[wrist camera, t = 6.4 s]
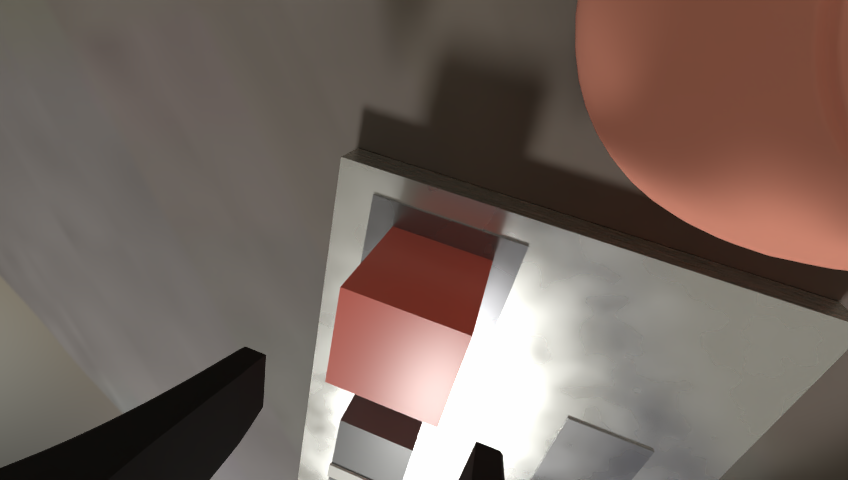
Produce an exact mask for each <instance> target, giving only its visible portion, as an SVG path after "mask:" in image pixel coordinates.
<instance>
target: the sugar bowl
mask: <svg viewBox="0 0 848 480" xmlns="http://www.w3.org/2000/svg"><path fill="white" fill-rule="evenodd" d="M575 52H576V60H577V69H578V78H579V83H580V87H581V90H582V94H583V98H584V102H585V106H586V109H587V111H588V114H589V116H590V119H591V121H592V123H593V126H594V128H595V131H596V133H597V134H598V136H599V138H600V139H601V141H602V143H603V144H604V146H605V148H606V149H607V151H608V153H609V154H610V156H611V157H612V159H613V160H614V161H615V162H616V164H617V165H618V166H619V167H620V168H621V170H622V171H623V172H624V173H625V174H626V176H627V177H628V178H629V179H630V181H631V182H632V183H633V184H635V185H636V186H637V187H638V188H639V189H640V190H641V191H642V192H643V193H645V194H646V195H647V196H648V197H649V198H650V199H651V200H652V201H654V202H655V203H657V204H658V205H660V206H661V207H663V208H664V209H666V210H667V211H669V212H670V213H672V214H673V215H675V216H676V217H678V218H680V219H681V220H683V221H685V222H687V223H688V224H690V225H692V226H694V227H697V228H699V229H701V230H703V231H705V232H707V233H709V234H711V235H713V236H715V237H717V238H720V239H722V240H725V241H727V242H730V243H733V244H735V245H738V246H741V247H744V248H747V249H750V250H753V251H756V252H759V253H762V254H765V255H768V256H772V257H777V258H781V259H786V260H791V261H795V262H800V263H805V264H810V265H815V266H820V267H825V268H830V269H837V270H846V271H848V0H578V2H577V10H576V29H575Z"/></svg>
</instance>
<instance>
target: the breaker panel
mask: <svg viewBox="0 0 848 480" xmlns="http://www.w3.org/2000/svg"><path fill="white" fill-rule="evenodd" d="M392 227H396V228H399V229H402V230H405V231H408V232H411V233H414V234H417V235H420V236H423V237H425V238H428V239H431V240H434V241H437V242H440V243H443V244H446V245H449V246H452V247H454V248H457V249H460V250H463V251H466V252H469V253H472V254H475V255H478V256H481V257H484V258H486V259H489V260H492V261H493V262H492V266H491V270H490V273H489V277H488V281H487V285H486V288H485V292H484V296H483V299H482V303H481V307H480V310H479V314H478V318H477V321H476V325H475V329H474V332H473V336H472V339H471V341H470V344H469V347H468V349H467V352H466V355H465V357H464V360H463V362H462V365H461V368H460V370H459V373H458V376H457V378H456V381H455V384H454V386H453V389H452V391H451V394H450V397H449V399H448V402H447V405H446V407H445V410H444V413H443V415H442V418H441V420H440V423H439V426H438V428H436V427H434V426H431V425H429V424H427V423H424V422H423V423H422V426H421V428H420V431H419V434H418V437H417V440H416V443H415V446H414V449H413V452H412V455H411V458H410V460H409V463H408V466H407V469H406V472H405V475H404V478H403V480H458V479H459V477H460V475H461V473H462V471H463V468H464V466H465V464H466V462H467V460H468V458H469V455H470V453H471V451H472V449H473V447H474V445H475V442H476V441H477V442H480V443H482V444H485V445H487V446H490V447H492V448H495V449H497V450H499V451H501V453H502V454H503V462H504V477H505V480H718V479H719V478H720V477H721V476H722V475H723V474H724V473H725V472H726V471H727V470H728V469H729V468H730V467H731V466H732V465H733V464H734V463H735V462H736V461H737V460H738V459H739V458H740V457H741V456H742V455H743V454H744V453H745V452H746V451H747V450H748V449H749V448H750V447H751V446H752V445H753V444H754V443H755V442H756V441H757V440H758V439H759V438H760V437H761V436H762V435H763V434H764V433H765V432H766V431H767V430H768V429H769V428H770V427H771V426H772V425H773V424H774V423H775V422H776V421H777V420H778V419H779V418H780V417H781V416H782V415H783V414H784V413H785V412H786V411H787V410H788V409H789V408H790V407H791V406H792V405H793V404H794V403H795V402H796V401H797V400H798V399H799V398H800V397H801V396H802V395H803V394H804V393H805V392H806V391H807V390H808V389H809V388H810V387H811V386H812V385H813V384H814V383H815V382H816V381H817V380H818V379H819V378H820V377H821V376H822V375H823V374H824V373H825V372H826V371H827V370H828V369H829V368H830V367H831V366H832V365H833V364H834V363H835V362H836V361H837V360H838V359H839V358H840V357H841V355H842V354H843V353H844V352H845V351H846V350H847V349H848V310H847V309H846V308H845V307H844V306H843V305H842V304H841V303H840V302H838V301H835V300H831V299H828V298H825V297H822V296H819V295H816V294H813V293H810V292H806V291H803V290H800V289H797V288H794V287H791V286H788V285H785V284H782V283H778V282H775V281H772V280H769V279H766V278H763V277H760V276H757V275H753V274H750V273H747V272H744V271H741V270H738V269H735V268H732V267H728V266H725V265H722V264H719V263H716V262H713V261H710V260H707V259H703V258H700V257H697V256H694V255H691V254H688V253H685V252H682V251H678V250H675V249H672V248H669V247H666V246H663V245H660V244H657V243H653V242H650V241H647V240H644V239H641V238H638V237H635V236H632V235H628V234H625V233H622V232H619V231H616V230H613V229H610V228H607V227H603V226H600V225H597V224H594V223H591V222H588V221H585V220H582V219H579V218H575V217H572V216H569V215H566V214H563V213H560V212H557V211H554V210H550V209H547V208H544V207H541V206H538V205H535V204H532V203H529V202H525V201H522V200H519V199H516V198H513V197H510V196H507V195H504V194H500V193H497V192H494V191H491V190H488V189H485V188H482V187H479V186H475V185H472V184H469V183H466V182H463V181H460V180H457V179H454V178H450V177H447V176H444V175H441V174H438V173H435V172H432V171H429V170H425V169H422V168H419V167H416V166H413V165H410V164H407V163H404V162H400V161H397V160H394V159H391V158H388V157H385V156H382V155H379V154H376V153H372V152H369V151H366V150H363V149H360V148H357V149H355V150H353V151H351V152H349V153H347V154H346V155H344V156H342V157H341V162H340V170H339V177H338V185H337V192H336V199H335V207H334V214H333V222H332V229H331V237H330V244H329V252H328V259H327V266H326V274H325V281H324V289H323V296H322V304H321V311H320V318H319V326H318V333H317V341H316V348H315V356H314V363H313V371H312V378H311V385H310V393H309V400H308V408H307V415H306V423H305V430H304V437H303V445H302V452H301V460H300V467H299V475H298V480H328V479H329V476H327V475H328V470H329V465H330V463H332V459H333V454H334V449H335V444H336V439H337V434H338V429H339V423H340V420H341V418H342V416H343V414H344V412H345V411H346V409H347V407H348V405H349V403H350V402H351V400H352V398H353V396H354V395H355V394H353V393H351V392H348V391H346V390H344V389H341V388H339V387H336V386H334V385H331V384H329V383H327V382H325V380H326V373H327V367H328V361H329V355H330V348H331V342H332V336H333V329H334V323H335V317H336V310H337V304H338V298H339V291H340V287H341V286H342V284H343V283H344V282H345V281H346V280H347V279H348V277H349V276H350V275H351V274H352V273H353V272H354V270H355V269H356V268H357V267H358V266H359V265H360V264H361V262H362V261H363V260H364V259H365V258H366V257H367V255H368V254H369V253H370V252H371V251H372V250H373V249H374V247H375V246H376V245H377V244H378V243H379V242H380V240H381V239H382V238H383V237H384V236H385V235H386V233H387V232H388V231H389V230H390V229H391V228H392Z"/></svg>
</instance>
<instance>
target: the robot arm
mask: <svg viewBox="0 0 848 480" xmlns="http://www.w3.org/2000/svg"><path fill="white" fill-rule="evenodd" d="M265 362H266V355H265V354H262V353H260V352H257V351H255V350H252V349H250V348H248V347H244V348H241V349H240V350H238V351H236V352H234V353H233V354H231V355H229V356H228V357H226V358H224V359H222V360H221V361H219V362H217V363H216V364H214V365H212V366H210V367H209V368H207V369H205V370H204V371H202V372H200V373H198V374H197V375H195V376H193V377H191V378H190V379H188V380H186V381H184V382H182V383H181V384H179V385H177V386H175V387H173V388H172V389H170V390H168V391H166V392H164V393H162V394H161V395H159V396H157V397H155V398H153V399H151V400H150V401H148V402H146V403H144V404H142V405H140V406H138V407H136V408H134V409H132V410H130V411H128V412H126V413H124V414H122V415H120V416H118V417H116V418H114V419H112V420H110V421H108V422H106V423H104V424H102V425H100V426H98V427H96V428H93V429H91V430H89V431H87V432H85V433H83V434H81V435H78V436H76V437H74V438H72V439H69V440H67V441H65V442H62V443H60V444H58V445H56V446H54V447H51V448H49V449H47V450H44V451H42V452H39V453H37V454H34V455H32V456H29V457H27V458H24V459H22V460H19V461H17V462H15V463H12V464H9V465H7V466H4V467H2V468H0V480H210V479H211V477H212V476H213V475H214V474H215V472H216V471H217V470H218V469H219V468H220V466H221V465H222V464H223V463H224V461H225V460H226V459H227V458H228V456H229V455H230V454H231V453H232V452H233V450H234V449H235V448H236V447H237V445H238V444H239V443H240V441H241V440H242V438H243V437H244V435H245V434H246V432H247V431H248V429H249V428H250V426H251V425H252V423H253V422H254V420H255V418H256V417H257V415H258V414H259V412H260V411H261V409H262V407H263V398H264V380H265ZM458 480H505V477H504V462H503V454H502V453H501V451H499V450H497V449H495V448H492V447H490V446H487V445H485V444H482V443H480V442H477V441H476V442H475V445H474V447H473V449H472V451H471V453H470V455H469V458H468V460H467V462H466V464H465V466H464V468H463V471H462V473H461V475H460V477H459V479H458Z"/></svg>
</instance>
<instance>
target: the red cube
mask: <svg viewBox="0 0 848 480" xmlns="http://www.w3.org/2000/svg"><path fill="white" fill-rule="evenodd" d="M492 262H493V261H492V260H489V259H486V258H484V257H481V256H478V255H475V254H472V253H469V252H466V251H463V250H460V249H457V248H454V247H452V246H449V245H446V244H443V243H440V242H437V241H434V240H431V239H428V238H425V237H423V236H420V235H417V234H414V233H411V232H408V231H405V230H402V229H399V228H396V227H392V228H391V229H390V230H389V231H388V232H387V233H386V235H385V236H384V237H383V238H382V239H381V240H380V242H379V243H378V244H377V245H376V246H375V247H374V249H373V250H372V251H371V252H370V253H369V254H368V255H367V257H366V258H365V259H364V260H363V261H362V262H361V264H360V265H359V266H358V267H357V268H356V269H355V270H354V272H353V273H352V274H351V275H350V276H349V277H348V279H347V280H346V281H345V282H344V283H343V284H342V286H341V287H340V291H339V298H338V304H337V310H336V317H335V323H334V329H333V336H332V342H331V348H330V355H329V361H328V367H327V373H326V380H325V382H327V383H329V384H331V385H334V386H336V387H339V388H341V389H344V390H346V391H348V392H351V393H353V394H356V395H358V396H361V397H363V398H366V399H368V400H370V401H373V402H375V403H378V404H380V405H383V406H385V407H388V408H390V409H392V410H395V411H397V412H400V413H402V414H405V415H407V416H409V417H412V418H414V419H417V420H419V421H422V422H424V423H427V424H429V425H431V426H434V427H436V428H438V426H439V423H440V420H441V418H442V415H443V413H444V410H445V407H446V405H447V402H448V399H449V397H450V394H451V391H452V389H453V386H454V384H455V381H456V378H457V376H458V373H459V370H460V368H461V365H462V362H463V360H464V357H465V355H466V352H467V349H468V347H469V344H470V341H471V339H472V336H473V332H474V329H475V325H476V321H477V318H478V314H479V310H480V307H481V303H482V299H483V296H484V292H485V288H486V285H487V281H488V277H489V273H490V270H491V266H492Z"/></svg>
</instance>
